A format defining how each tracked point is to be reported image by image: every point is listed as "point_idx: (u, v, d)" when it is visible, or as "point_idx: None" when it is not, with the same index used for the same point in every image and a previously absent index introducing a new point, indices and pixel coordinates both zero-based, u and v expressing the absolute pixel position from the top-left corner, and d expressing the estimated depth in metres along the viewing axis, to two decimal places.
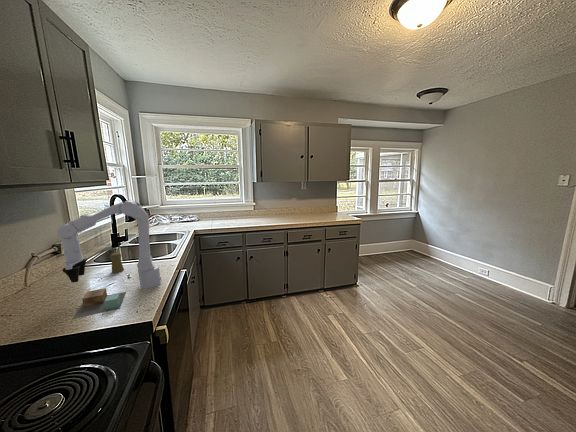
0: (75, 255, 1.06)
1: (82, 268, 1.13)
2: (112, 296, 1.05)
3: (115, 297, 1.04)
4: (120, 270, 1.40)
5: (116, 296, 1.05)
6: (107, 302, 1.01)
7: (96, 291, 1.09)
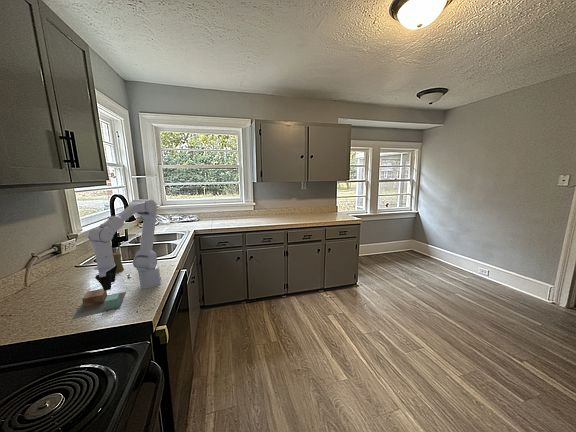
0: (108, 261, 0.99)
1: (113, 275, 1.06)
2: (112, 296, 1.05)
3: (115, 297, 1.04)
4: (120, 270, 1.40)
5: (116, 296, 1.05)
6: (107, 302, 1.01)
7: (96, 291, 1.09)
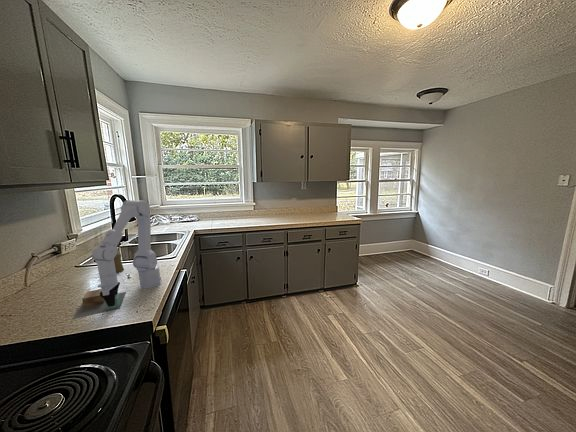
0: (111, 279, 1.01)
1: (115, 293, 1.06)
2: None
3: (115, 297, 1.04)
4: (120, 270, 1.40)
5: (116, 296, 1.05)
6: None
7: (96, 291, 1.09)
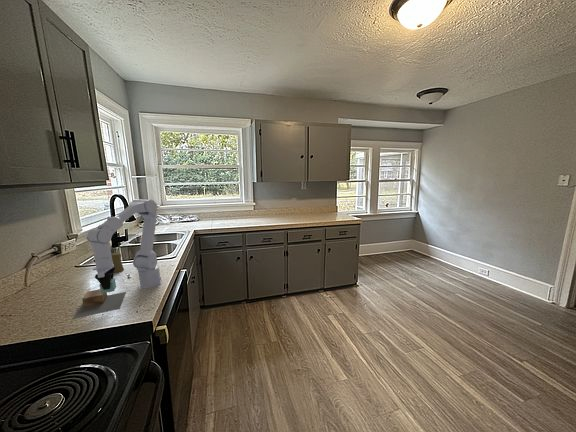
0: (107, 261, 0.99)
1: (111, 276, 1.05)
2: None
3: (110, 281, 1.03)
4: (120, 270, 1.40)
5: (111, 280, 1.03)
6: None
7: (96, 291, 1.09)
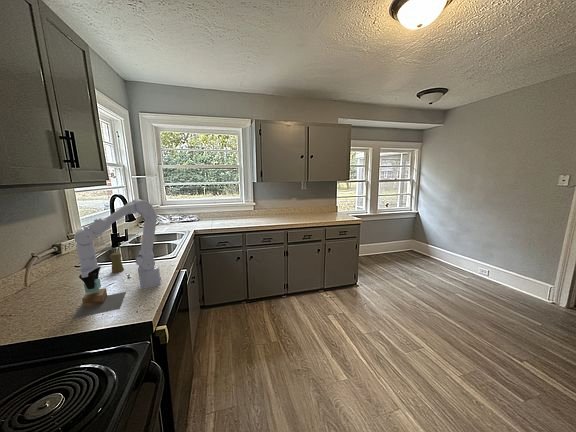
0: (91, 262, 1.03)
1: (96, 276, 1.09)
2: None
3: (95, 281, 1.06)
4: (120, 270, 1.40)
5: (96, 280, 1.07)
6: None
7: (96, 291, 1.09)
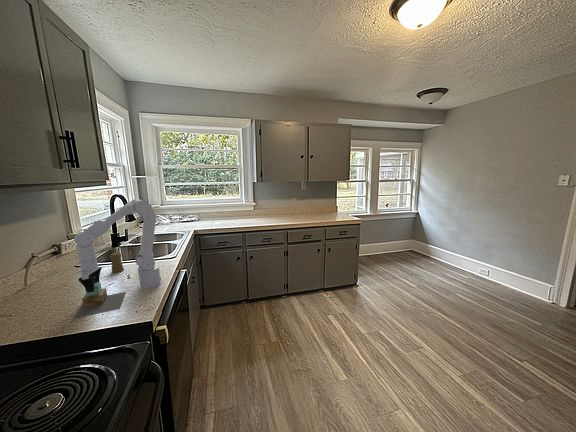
0: (91, 264, 1.03)
1: (97, 277, 1.10)
2: None
3: (96, 284, 1.07)
4: (120, 270, 1.40)
5: (97, 284, 1.08)
6: None
7: None
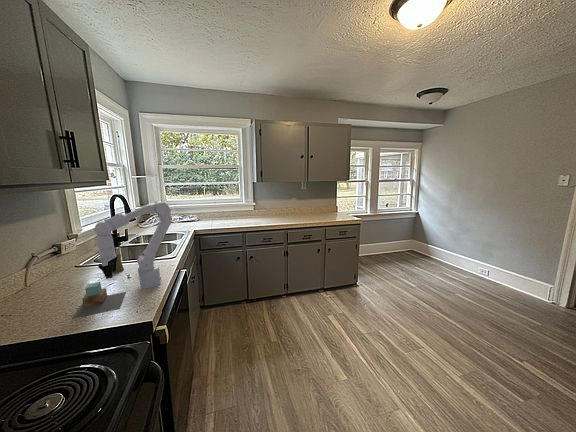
0: (110, 252, 1.10)
1: (114, 265, 1.16)
2: (93, 284, 1.08)
3: (96, 284, 1.07)
4: (120, 270, 1.40)
5: (97, 284, 1.08)
6: (88, 289, 1.05)
7: None
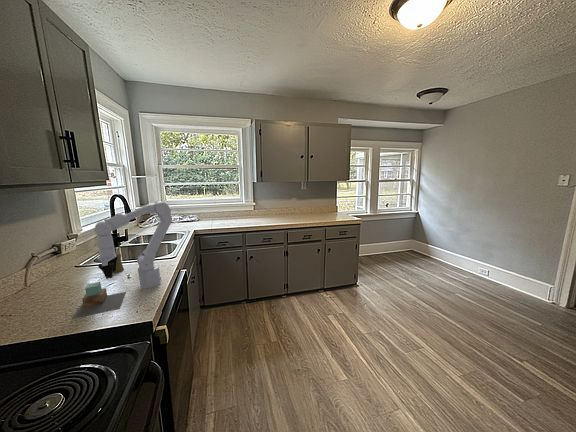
0: (110, 252, 1.10)
1: (114, 265, 1.16)
2: (93, 284, 1.08)
3: (96, 284, 1.07)
4: (120, 270, 1.40)
5: (97, 284, 1.08)
6: (88, 289, 1.05)
7: None
